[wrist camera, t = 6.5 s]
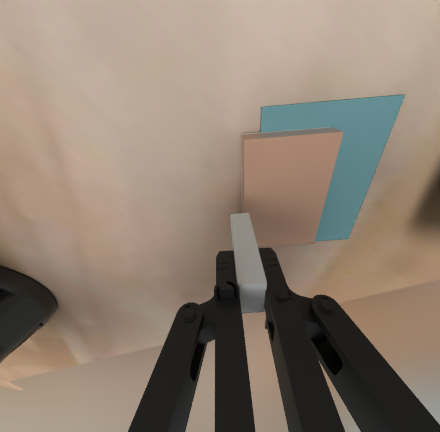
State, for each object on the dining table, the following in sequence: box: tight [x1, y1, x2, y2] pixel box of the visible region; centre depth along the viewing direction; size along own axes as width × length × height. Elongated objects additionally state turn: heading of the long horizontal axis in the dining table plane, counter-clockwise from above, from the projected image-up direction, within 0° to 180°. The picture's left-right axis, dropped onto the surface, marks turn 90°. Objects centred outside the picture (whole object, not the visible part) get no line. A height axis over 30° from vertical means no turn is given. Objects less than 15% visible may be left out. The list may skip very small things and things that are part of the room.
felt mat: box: [260, 95, 405, 241], centre depth 21 cm, size 12×16×1 cm
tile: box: [241, 127, 344, 247], centre depth 20 cm, size 2×12×8 cm
